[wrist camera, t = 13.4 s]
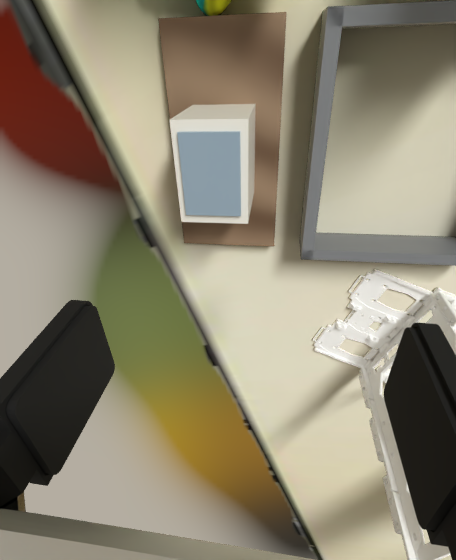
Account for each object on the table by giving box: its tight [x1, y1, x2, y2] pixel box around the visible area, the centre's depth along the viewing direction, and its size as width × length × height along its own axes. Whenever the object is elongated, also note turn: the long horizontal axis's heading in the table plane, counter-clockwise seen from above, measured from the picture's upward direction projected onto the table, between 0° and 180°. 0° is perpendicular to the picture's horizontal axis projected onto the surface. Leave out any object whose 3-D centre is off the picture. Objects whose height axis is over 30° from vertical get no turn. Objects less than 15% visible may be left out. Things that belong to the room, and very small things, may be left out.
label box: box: [169, 104, 255, 224], centre depth 26 cm, size 5×7×7 cm
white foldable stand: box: [312, 269, 456, 560], centre depth 30 cm, size 14×14×20 cm
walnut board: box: [158, 12, 286, 246], centre depth 29 cm, size 18×9×1 cm, turn 2°
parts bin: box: [299, 0, 456, 265], centre depth 26 cm, size 18×16×4 cm
